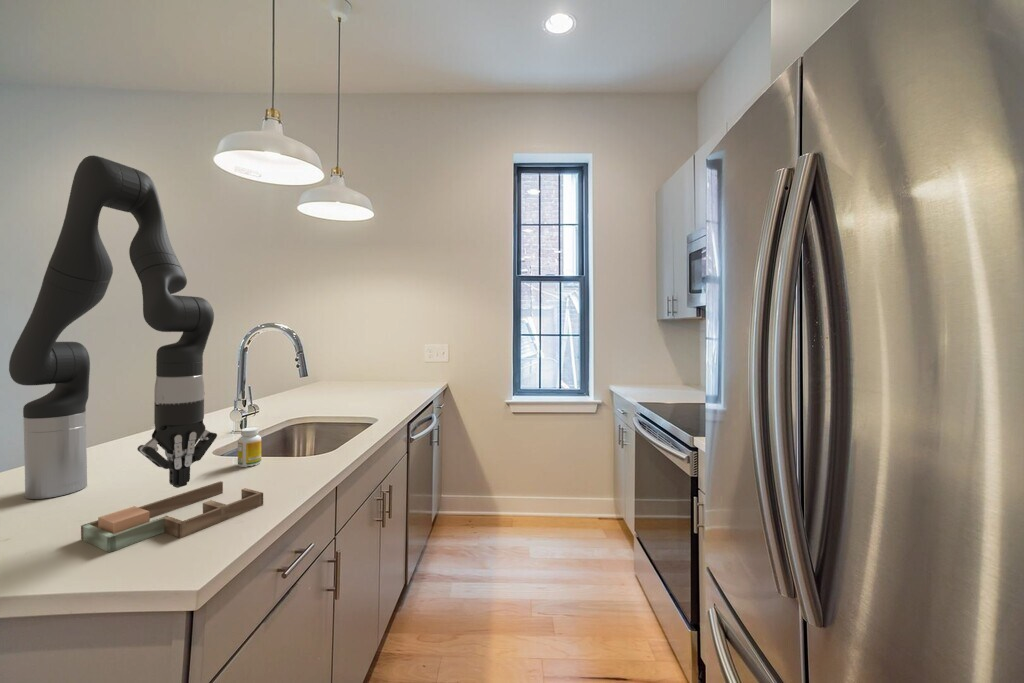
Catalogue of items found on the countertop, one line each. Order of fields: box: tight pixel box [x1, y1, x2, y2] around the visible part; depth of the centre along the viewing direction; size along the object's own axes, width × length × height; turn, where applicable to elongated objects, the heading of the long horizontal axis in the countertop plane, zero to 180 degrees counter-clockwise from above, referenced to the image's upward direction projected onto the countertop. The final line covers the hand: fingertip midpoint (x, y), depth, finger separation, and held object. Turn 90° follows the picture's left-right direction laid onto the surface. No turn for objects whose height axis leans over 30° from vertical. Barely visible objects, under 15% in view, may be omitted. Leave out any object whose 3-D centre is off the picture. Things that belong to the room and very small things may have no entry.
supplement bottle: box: [237, 426, 262, 468], centre depth 110 cm, size 5×5×10 cm
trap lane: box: [80, 480, 264, 553], centre depth 78 cm, size 15×23×2 cm, turn 156°
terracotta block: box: [97, 505, 151, 534], centre depth 72 cm, size 5×5×4 cm
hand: (179, 485), depth 80 cm, fingers closed
